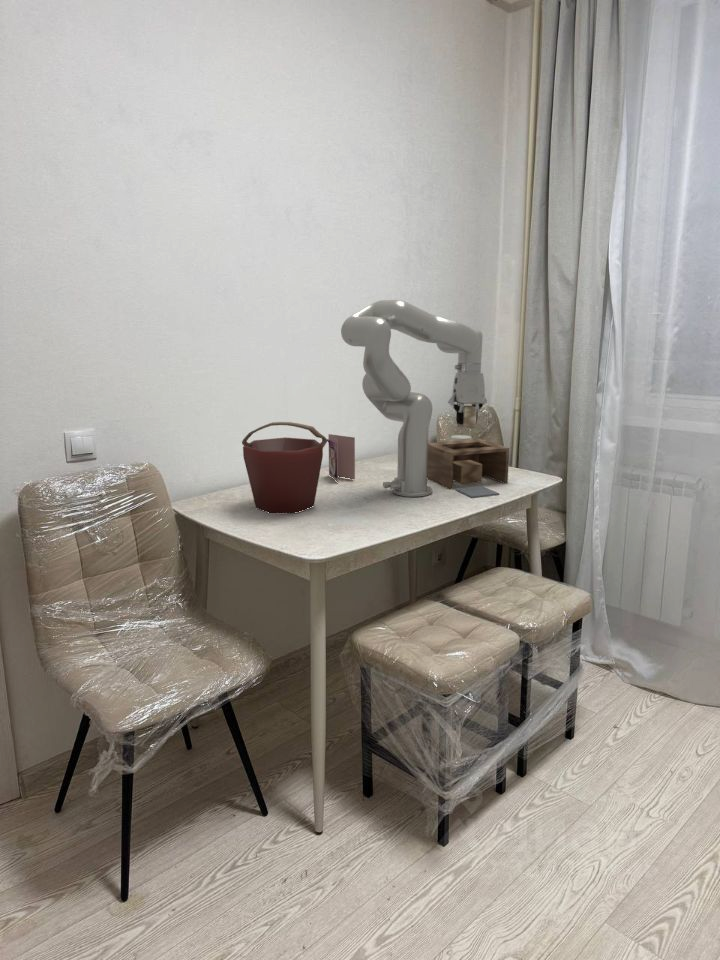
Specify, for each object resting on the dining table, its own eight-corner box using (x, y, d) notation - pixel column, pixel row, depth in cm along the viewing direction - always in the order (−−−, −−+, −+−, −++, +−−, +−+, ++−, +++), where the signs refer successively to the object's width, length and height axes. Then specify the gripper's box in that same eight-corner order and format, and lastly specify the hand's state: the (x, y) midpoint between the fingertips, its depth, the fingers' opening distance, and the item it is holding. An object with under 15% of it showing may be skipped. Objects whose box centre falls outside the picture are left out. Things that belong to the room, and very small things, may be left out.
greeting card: (326, 476, 234) (326, 434, 230) (346, 474, 236) (346, 433, 232) (335, 483, 223) (335, 439, 219) (356, 482, 225) (356, 438, 222)
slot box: (449, 489, 216) (450, 452, 213) (424, 477, 232) (425, 443, 229) (507, 483, 224) (509, 448, 221) (479, 471, 240) (480, 439, 237)
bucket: (338, 501, 202) (337, 419, 196) (305, 521, 182) (303, 431, 176) (267, 493, 211) (264, 415, 205) (228, 512, 191) (224, 425, 185)
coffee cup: (444, 467, 247) (445, 435, 245) (465, 465, 250) (466, 434, 247) (454, 472, 240) (455, 439, 237) (475, 470, 242) (477, 438, 239)
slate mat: (471, 498, 205) (471, 496, 205) (455, 490, 214) (455, 488, 214) (499, 494, 209) (499, 493, 209) (482, 487, 218) (482, 486, 218)
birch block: (463, 428, 220) (464, 407, 219) (457, 426, 224) (458, 405, 223) (475, 427, 222) (476, 406, 220) (468, 425, 226) (469, 405, 224)
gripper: (452, 369, 212) (449, 426, 217) (497, 369, 218) (494, 424, 223) (441, 368, 219) (438, 423, 223) (485, 367, 225) (482, 421, 229)
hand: (466, 423), depth 223 cm, fingers closed on birch block, 4 cm apart
